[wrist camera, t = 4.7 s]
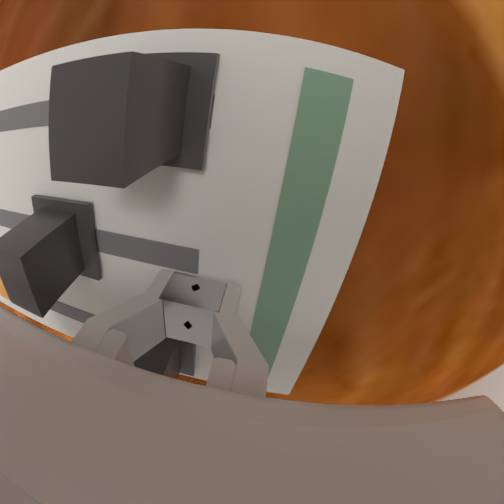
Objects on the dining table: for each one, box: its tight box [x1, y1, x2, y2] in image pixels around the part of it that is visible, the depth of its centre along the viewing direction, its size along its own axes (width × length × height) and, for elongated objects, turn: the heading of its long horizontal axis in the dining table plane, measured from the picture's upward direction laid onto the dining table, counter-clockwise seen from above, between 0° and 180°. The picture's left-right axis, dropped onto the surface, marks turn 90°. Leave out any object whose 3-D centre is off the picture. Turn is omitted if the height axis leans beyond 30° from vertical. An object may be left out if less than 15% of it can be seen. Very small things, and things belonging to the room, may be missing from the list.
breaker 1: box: [49, 51, 220, 189], centre depth 6 cm, size 4×4×4 cm
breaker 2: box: [134, 337, 195, 379], centre depth 13 cm, size 4×4×4 cm
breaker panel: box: [0, 29, 405, 395], centre depth 13 cm, size 26×18×3 cm
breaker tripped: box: [0, 194, 102, 318], centre depth 10 cm, size 4×4×4 cm
